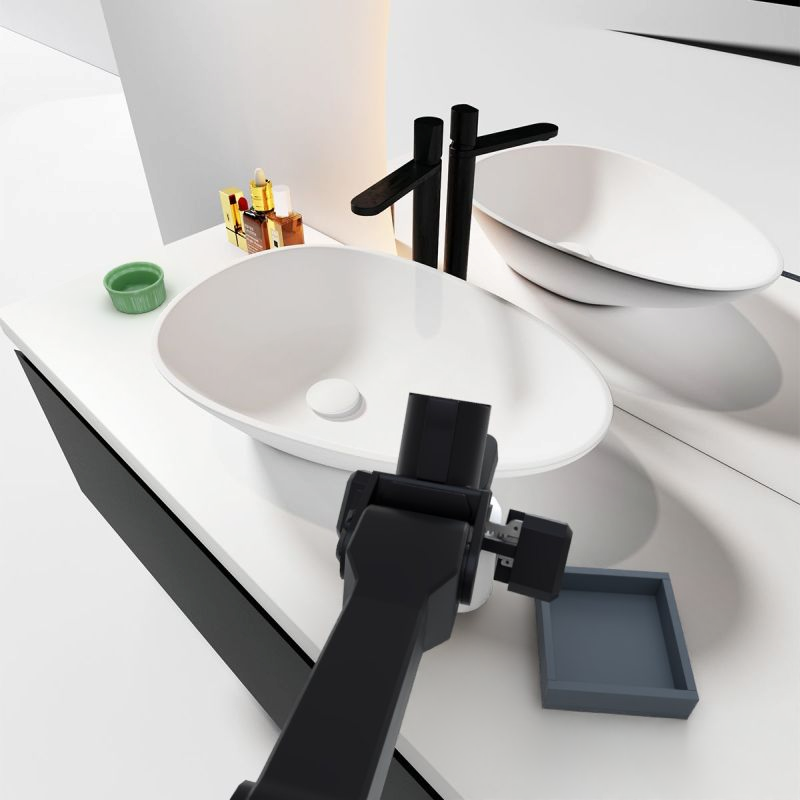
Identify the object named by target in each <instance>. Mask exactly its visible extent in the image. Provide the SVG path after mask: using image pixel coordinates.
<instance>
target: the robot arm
mask: <svg viewBox="0 0 800 800" xmlns="http://www.w3.org/2000/svg"><path fill="white" fill-rule="evenodd" d="M492 407H493V406H492V405H491V404H487V403H482V402H475V401H468V400H462V399H456V398H450V397H448V398H447V397H442V396H436V395H430V394H424V393H418V392H417V393H416V392H411V391H409V392H408V397H407V403H406V409H405V415H404V422H403V428H402V434H401V439H400V445H399V450H398V457H397V464H396V470H395V473H390V472H385V471H381V470H380V471H379V470H372V471H370V470H366V469H357V470H355V471H354V472H353V473H351V474H350V475H349V478H348V479H347V481H346V483H345V488H344V494H343V497H342V501H341V504H340V505H341V506H340V509H339V514H338V517H337V522H336V525H335V529H336V535H337V537H338V541H337V544H336V549H335V558H336V559H337V561H338V563H339V577H340V579H341V580H343V588H342V589H343V591H342V604H341V607H342V608H341V611H340V613H339V615H338V617H337V619H336V620H335V624H334V625H333V627H332V629H331V631H330V633H329V635H328V637H327V639H326V641H325V643H324V645H323V648H322V649H321V652H320V653H319V655H318V657H317V659H316V661H315V663H314V665H313V667H312V669H311V671H310V673H309V675H308V677H307V679H306V681H305V683H304V685H303V687H302V689H301V692H300V693H299V695H298V698H297V699H296V701H295V703H294V705H293V707H292V710H291V712H290V714H289V716H288V717H287V720H286V722H285V724H284V725H283V727H282V730H281V731H280V734H279V735H278V737H277V740H276V741H275V744H274V746H273V747H272V750H271V752H270V753H269V756H268V758H267V760H266V761H265V764H264V765H263V768H262V770H261V771H260V774H259V775H258V778H256V780H255V781H251V780H248V779H245V780H244V781H242V782H241V783H240V784H238V785H237V787H236V789H235V790H234V791H233V793H232V795H231V796H230V798H229V800H381V796H382V793H383V789H384V786H385V783H386V780H387V776H388V773H389V769H390V766H391V762H392V759H393V756H394V752H395V750H396V745H397V742H398V738H399V735H400V731H401V728H402V725H403V721H404V718H405V715H406V712H407V708H408V704H409V700H410V697H411V694H412V690H413V687H414V684H415V680H416V676H417V673H418V670H419V667H420V663H421V660H422V657H423V655H424V654H425V653H426V652H428V651H431V650H432V649H435V648H437V647H438V646H440V645H442V644H444V643H446V642H448V641H449V640H450V639H451V637H452V633H453V630H454V626H455V622H456V619H457V616H458V612H457V611H458V607H459V603H460V604H463V605H468V606H470V604H471V599H472V594H473V589H474V584H475V578H476V572H477V567H478V561H479V556H480V552H481V550H484V551H488V552H491V553H495V554H496V558H495V567H494V576H493V581H496V582H499V583H503V584H506V585H507V588H506V590H507V591H508V592H511V593H514V594H518V595H521V596H525V597H528V598H531V599H534V600H535V599H538V600H541V601H545V602H548V603H550V602H551V601H553V600H555V599H556V598H558V596H559V592H560V588H561V584H562V579H563V575H564V571H565V566H567V562H568V557H569V553H570V549H571V545H572V539H573V535H574V531H573V530H572V528H571V526H570V525H569V523H568V522H566V521H561V520H558V519H554V518H550V517H546V516H541V515H538V514H534V513H528V512H525V511H521V510H517V509H513V508H509V510H508V513H507V516H506V519H505V523H504V524H503V523H502V524H499V523H495V522H492V521H489V520H490V516H491V512H492V508H493V505H491V504H490V503H491V498H492V496H493V491H492V489H491V488H492V485H493V484H492V483H493V479H494V477H495V474H496V470H497V466H498V464H499V463H498V462H499V447H498V441H497V439H496V438H495V436H493V435H492V434H489V433H488V431H489V425H490V420H491V413H492ZM488 530H489V534H490V535H491V534H492V532H494V536H496V535H497V533H499V539H496V538H493V537H489V536H486V535H485V533H487V531H488Z"/></svg>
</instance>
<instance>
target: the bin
mask: <svg viewBox="0 0 800 800" xmlns="http://www.w3.org/2000/svg"><path fill="white" fill-rule="evenodd" d="M534 611H535V625H536V627H535V628H536V638H537V639H536V640H537V652H538V666H539V667H538V669H539V680H540V694H541V695H540V696H541V697H540V698H541V708H542V709H546V710H556V711H557V710H558V711H571V712H583V713H584V712H587V713H597V714H610V715H611V714H612V715H624V716H639V717H650V718H662V719H664V718H665V719H677V720H688V719H689V718H690V716H691V715H692V713H693V711H694V709H695V708H696V706H697V705H698V703H699V702H700V696H699V693H698V688H697V685H696V679H695V677H694V676H695V675H694V671H693V667H692V664H691V660H690V655H689V651H688V647H687V643H686V639H685V634H684V630H683V626H682V622H681V618H680V614H679V610H678V605H677V600H676V597H675V593H674V589H673V585H672V580H671V576H670V573H669V572H665V571H649V570H635V569H634V570H633V569H619V568H618V569H617V568H605V567H600V568H599V567H587V566H586V567H585V566H570V565H566V566H565V571H564V575H563V579H562V584H561V588H560V592H559V596H558V598H556V599H555V600H553V601H551V602H550V603H548V602H545V601H541V600H538V599H534Z"/></svg>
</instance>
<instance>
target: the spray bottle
mask: <svg viewBox="0 0 800 800" xmlns="http://www.w3.org/2000/svg"><path fill="white" fill-rule="evenodd" d="M490 504H491V505H493V508H492V512H491V516H490V520H489V521H492V522H495V523H499V524H503V514H502V513H503V512H502V508H501V505H500V504H499V502H498V501H497V499H496V497H494V496H493V495H492V498H491V503H490ZM485 535H486V536H489V537H493V538H496V539H499V533H497V535H496V536H494V532H492V534H491V535H490V534H489V530H488V531H487V533H485ZM495 558H496V554H495V553H491V552H488V551H484V550H481V552H480V556H479V561H478V567H477V572H476V578H475V584H474V589H473V594H472V599H471V604H470V606H468V605H463V604H460V603H459V607H458V611H457V613H468V612H472V611H474V610H477V609H478V608H479V607H482V606H483V605H484V604H485V603H486V602H487V600H488V599H489V597H490V596H491V595H492V589H493V586H494V585H493V584H494V580H493V576H494V567H495Z"/></svg>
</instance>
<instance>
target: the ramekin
mask: <svg viewBox="0 0 800 800" xmlns="http://www.w3.org/2000/svg"><path fill="white" fill-rule="evenodd" d="M164 278H165V273H164V270H163V268H162V267H161V266H160V265H159V264H157V263H154V262H152V261H151V262H150V261H132V262H127V263H123V264H120V265H118V266H116V267H114V268H112V269H111V270H110V271H108V272H107V273H106V274H105V276H104V277H103V281H102V283H103V286H104V288H105V290H106V291H107V293H108V295H109V297H110V300H111V302H112V305H113V306H114V308H115V309H116V310H117V311H119V312H121V313H125V314H142V313H146V312H150V311H153V310H155V309H157V308H158V307H159V306H160V305H161V304H163V303H164V301H165V299H166V297H167V293H166V286H165V285H166V284H165V281H164V280H165V279H164Z"/></svg>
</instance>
